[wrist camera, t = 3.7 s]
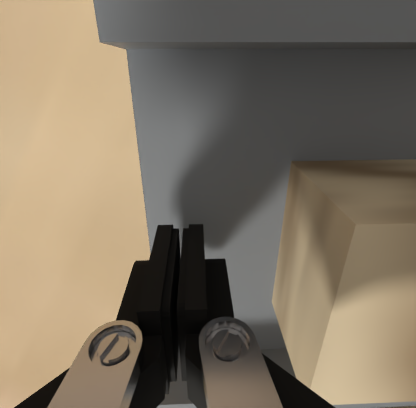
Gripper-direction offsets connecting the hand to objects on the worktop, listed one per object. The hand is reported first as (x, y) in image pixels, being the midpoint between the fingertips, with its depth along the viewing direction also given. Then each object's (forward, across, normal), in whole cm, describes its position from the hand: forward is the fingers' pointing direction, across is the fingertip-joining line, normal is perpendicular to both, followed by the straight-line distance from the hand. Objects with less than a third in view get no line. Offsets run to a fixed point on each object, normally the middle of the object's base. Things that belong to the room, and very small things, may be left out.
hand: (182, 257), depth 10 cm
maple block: (+1, -8, 0) cm, 8 cm away
